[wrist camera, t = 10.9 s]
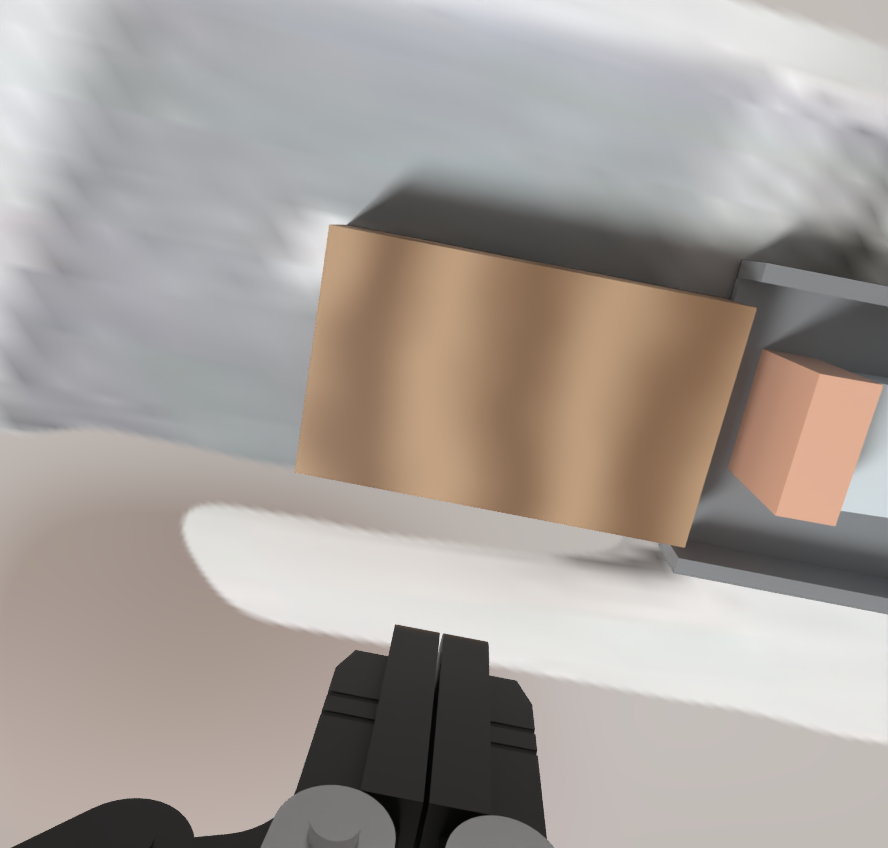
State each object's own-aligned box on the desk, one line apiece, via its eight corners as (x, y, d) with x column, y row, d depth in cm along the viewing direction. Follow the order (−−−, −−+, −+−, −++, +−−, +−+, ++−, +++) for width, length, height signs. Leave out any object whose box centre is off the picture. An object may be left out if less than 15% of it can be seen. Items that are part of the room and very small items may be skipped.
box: (658, 546, 38) (673, 573, 35) (741, 259, 34) (766, 262, 31) (956, 603, 38) (996, 635, 35) (1074, 324, 34) (1130, 333, 31)
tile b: (946, 526, 33) (915, 506, 36) (991, 400, 32) (955, 387, 34) (816, 507, 34) (793, 488, 36) (854, 379, 32) (828, 368, 34)
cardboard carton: (313, 446, 37) (294, 472, 33) (346, 224, 34) (329, 224, 30) (663, 514, 37) (684, 547, 33) (725, 298, 34) (756, 307, 30)
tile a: (775, 515, 30) (835, 526, 30) (819, 373, 28) (883, 385, 28) (727, 468, 36) (777, 477, 36) (762, 348, 34) (815, 357, 34)
